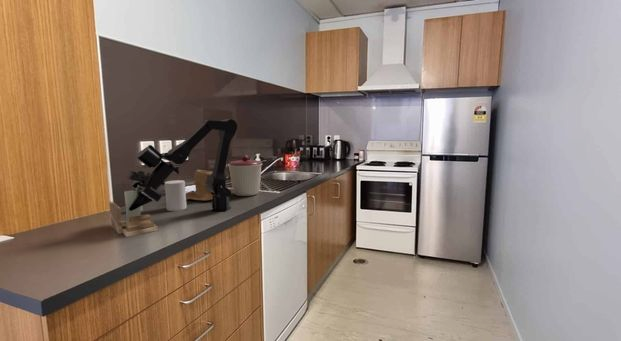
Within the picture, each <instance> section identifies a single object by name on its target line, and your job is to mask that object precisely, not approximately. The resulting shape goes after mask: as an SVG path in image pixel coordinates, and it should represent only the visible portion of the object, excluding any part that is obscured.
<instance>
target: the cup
mask: <svg viewBox="0 0 621 341" xmlns="http://www.w3.org/2000/svg"><path fill="white" fill-rule="evenodd" d="M164 183H165V184H164V190H165V203H166V210H167V211H168V212H169V211H170V212H175V211H176V212H177V211H184V210H185V209H187V199H186V193H187V192H186V182H185V180H182V179H181V180H178V179H177V180H176V179H175V180H168V181H164Z"/></svg>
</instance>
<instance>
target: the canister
mask: <svg viewBox="0 0 621 341" xmlns="http://www.w3.org/2000/svg"><path fill="white" fill-rule="evenodd" d="M262 166H263V162H261V161H259V160H256V159H255V160H254V159H253V160H252V159H249V156H248V155H247V154H245V155H242V156H241V159H239V160H234V161H231V162H229V163H228V164H227V167H229V168H228V169H229V176H230V182H231V183H230V184H231V187H232V192H233V193H234V195H235V196H239V197H252V196H255V195H257V194H258V193H259V191H260V188H261V186H260V185H261V176H262Z"/></svg>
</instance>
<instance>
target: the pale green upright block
mask: <svg viewBox="0 0 621 341" xmlns="http://www.w3.org/2000/svg"><path fill="white" fill-rule="evenodd" d="M123 194H124V203H125V204H124V205H125V215H126V221H130V219H129V217H135V216H140V215H142V213H141V212H142V211H140V207H138V208H136V209H134V210H132V211H130V210H129V208H130V206H131V205H132V203H133V202H134V200H135V199H136V197H137V190H133V189H132V190H125V191H124V193H123Z"/></svg>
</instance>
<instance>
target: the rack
mask: <svg viewBox="0 0 621 341" xmlns="http://www.w3.org/2000/svg"><path fill="white" fill-rule="evenodd" d="M108 204H109V214H110V222H111V224H110V226H111V227H112V229H113V230H114V231H115V232H116V233H117V234H118V235H121V234H123V235H124V236H125V237H126V238H129V237H133V236H136V235H137V236H138V235H141V234H142V235H143V234H146V233H147V234H149V233H151V232H157V231H159V226H158V225H157V224H155V223H154V227H151V228H146V229H141V230H136V231H131V232H128V231H127V230H126V226H125V225H126V221H127V220H124V221H122V220H123V219H122V209H121V206H119V205H118V204H117V203H115V202H114V201H109V202H108ZM123 227H125V228H123Z"/></svg>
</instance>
